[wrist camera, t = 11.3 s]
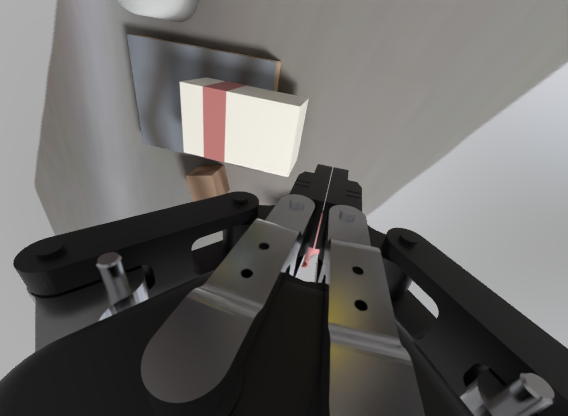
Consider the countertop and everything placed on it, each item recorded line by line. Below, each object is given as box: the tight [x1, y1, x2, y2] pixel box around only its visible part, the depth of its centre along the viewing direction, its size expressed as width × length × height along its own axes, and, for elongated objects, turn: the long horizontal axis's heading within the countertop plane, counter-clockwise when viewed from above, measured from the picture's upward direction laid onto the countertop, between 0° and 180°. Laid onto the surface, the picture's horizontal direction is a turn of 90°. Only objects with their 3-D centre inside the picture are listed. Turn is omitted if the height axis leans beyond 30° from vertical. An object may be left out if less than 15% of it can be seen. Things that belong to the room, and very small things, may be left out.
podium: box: [127, 34, 281, 172], centre depth 41 cm, size 22×16×3 cm
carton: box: [180, 77, 309, 177], centre depth 36 cm, size 7×9×15 cm
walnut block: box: [186, 165, 230, 201], centre depth 47 cm, size 5×5×5 cm
